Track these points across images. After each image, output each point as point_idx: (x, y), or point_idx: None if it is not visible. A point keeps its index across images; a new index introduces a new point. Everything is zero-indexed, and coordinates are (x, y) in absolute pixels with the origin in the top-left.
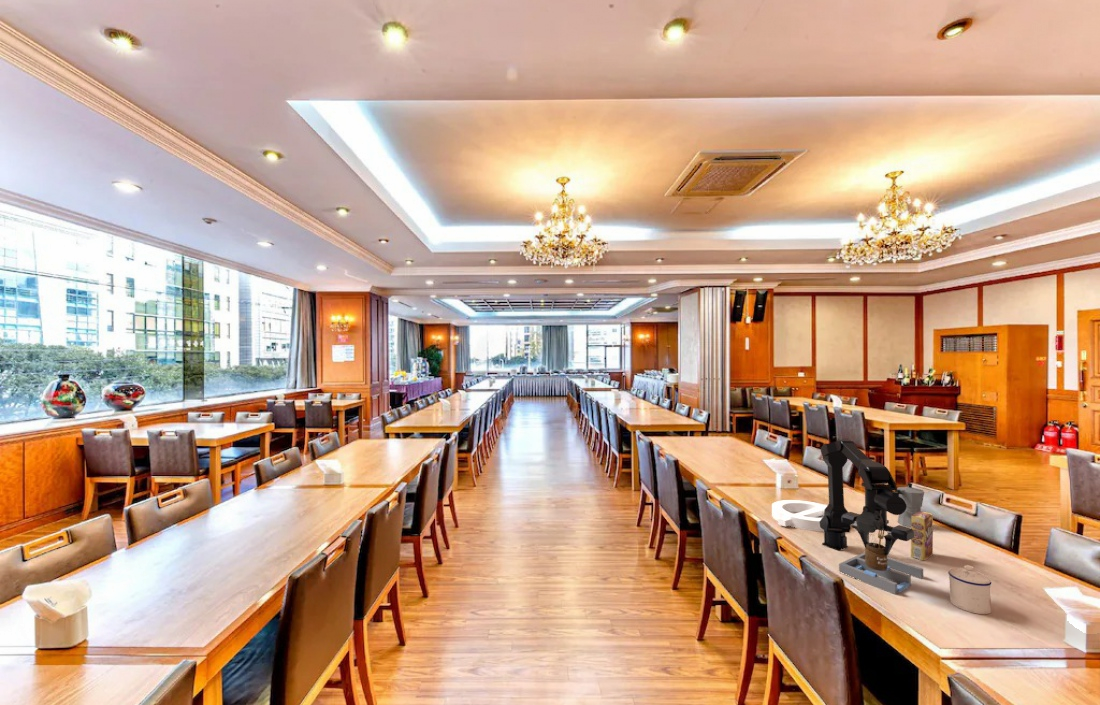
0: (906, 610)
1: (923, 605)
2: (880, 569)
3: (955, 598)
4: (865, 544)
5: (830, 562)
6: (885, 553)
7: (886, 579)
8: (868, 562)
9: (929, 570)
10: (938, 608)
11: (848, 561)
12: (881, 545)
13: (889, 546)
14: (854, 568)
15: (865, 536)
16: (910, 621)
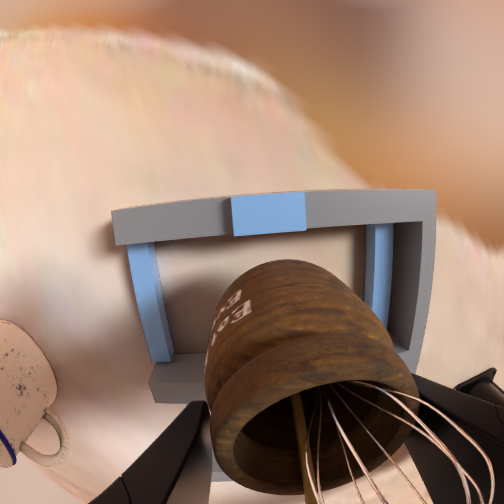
0: (52, 110)
1: (41, 224)
2: (230, 286)
3: (3, 338)
4: (423, 390)
5: (461, 264)
6: (199, 410)
7: (171, 235)
8: (316, 269)
9: (219, 493)
10: (19, 254)
11: (422, 274)
12: (289, 487)
13: (121, 485)
14: (366, 205)
15: (472, 459)
16: (31, 59)
